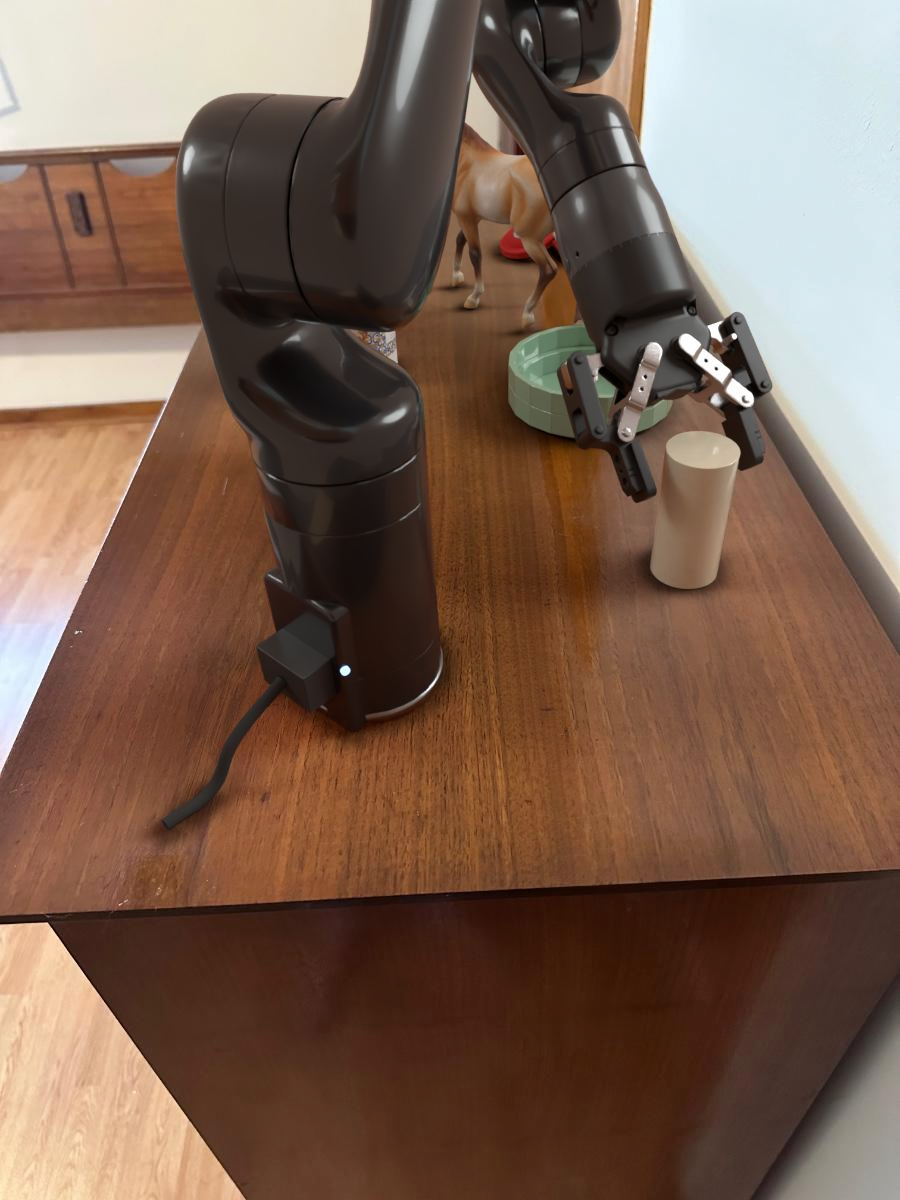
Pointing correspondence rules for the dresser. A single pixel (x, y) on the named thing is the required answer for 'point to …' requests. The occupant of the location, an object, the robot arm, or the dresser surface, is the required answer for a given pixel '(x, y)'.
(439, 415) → the dresser surface
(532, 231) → the horse figurine
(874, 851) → the dresser surface
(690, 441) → the beige cylinder
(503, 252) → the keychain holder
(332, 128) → the robot arm
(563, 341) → the bowl
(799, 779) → the dresser surface
